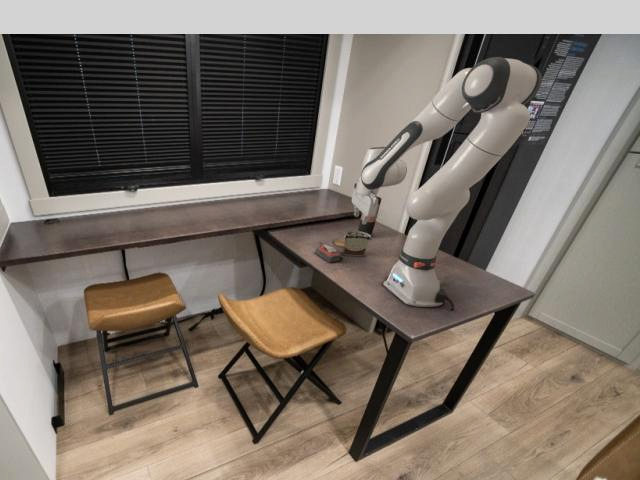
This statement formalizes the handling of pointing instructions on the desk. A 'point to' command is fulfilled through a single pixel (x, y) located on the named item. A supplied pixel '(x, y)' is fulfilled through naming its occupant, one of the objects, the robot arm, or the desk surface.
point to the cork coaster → (340, 242)
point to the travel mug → (369, 221)
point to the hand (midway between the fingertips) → (359, 219)
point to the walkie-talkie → (328, 253)
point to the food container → (356, 243)
